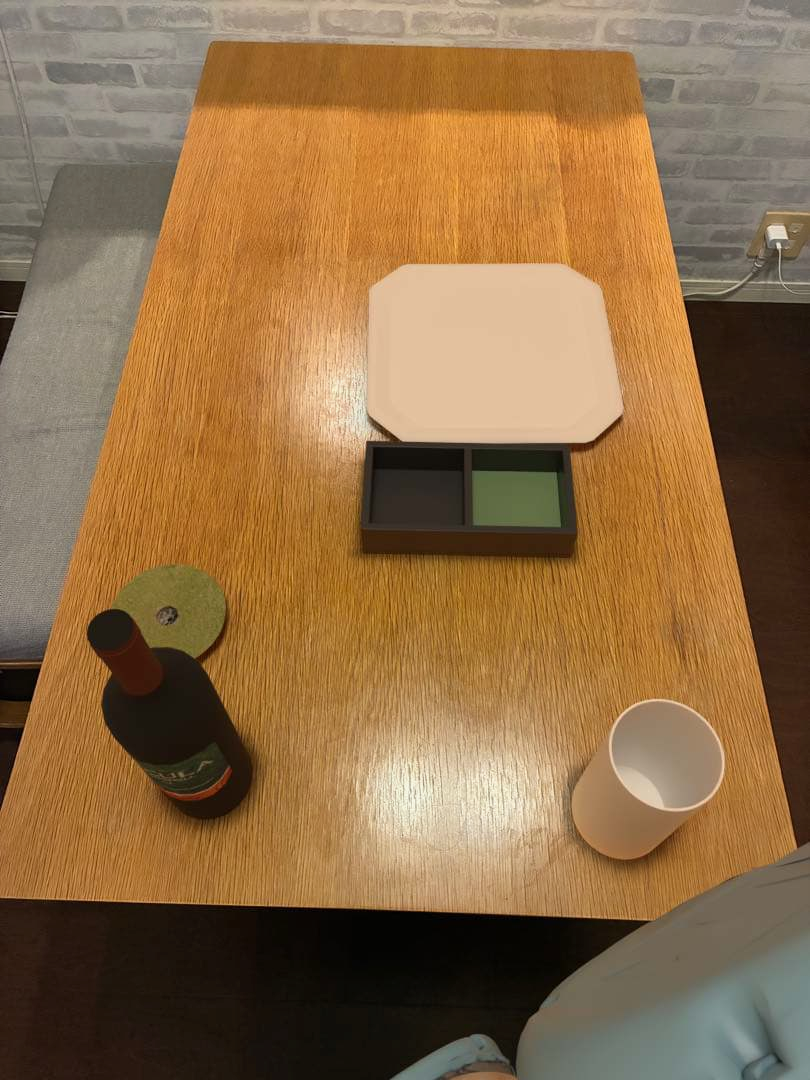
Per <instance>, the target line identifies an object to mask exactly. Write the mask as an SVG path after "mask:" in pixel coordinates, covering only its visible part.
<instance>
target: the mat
mask: <svg viewBox="0 0 810 1080" xmlns="http://www.w3.org/2000/svg"><path fill="white" fill-rule="evenodd" d="M110 609H119V610H123V611H125V612H126V613H128V614H129V615H130V617H132V618H133V619H134V621H135V622H136V624H137V625H138V627H139V629H140V630H141V634H142V636H143V637H144V639H145V641H146V642H147V644H148V645H149V647H150V648H153V647H171V648H174V649H178V650H182V651H184V652H186V653H187V654H189V655H190V656H192V657H193V658H195V659H196V658H198V657H199V656H201V655H202V654H204V653H205V652H206V651H207V650H208V649H209V648H210V647H211V646H212V645H213V644H214V642H215V641H216V640H217V638H218V637H219V635H220V634H221V632H222V630H223V626H224V623H225V619H226V615H227V602H226V597H225V594H224V591H223V590H222V587H221V585H220V584H219V583H218V581H216V579H215V578H214V577H212V575H210V574H209V573H207V572H206V571H205V570H202V569H201V568H198V567H195V566H193V565H188V564H183V563H180V564H179V563H177V564H176V563H171V564H164V565H159V566H156V567H151V568H149V569H148V570H145V571H142V572H141V573H139V574H138V575H136V576H135V577H133V578H131V580H129V581H128V582H127V583H126V584H125V585H124V586H123V587H122V588H121V589H120V591H119V592H118V593H117V595H116V597H115V598H114V600H113V602H112V604H111V606H110Z"/></svg>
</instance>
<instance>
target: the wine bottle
mask: <svg viewBox="0 0 810 1080" xmlns="http://www.w3.org/2000/svg"><path fill="white" fill-rule="evenodd" d="M86 638H87V641H88V643H89V646H90V647H91V649H92V650H93V652H94V653H95V655H96V656H97V657H98V658H99V659H101V661H102V662H103V664H105V666H106V668H107V669H108V670H109V671H110V672H111V674H110V675H109V677H108V680H107V681H106V684H105V685H104V688H103V692H102V697H101V704H100V706H101V712H102V717H103V721H104V724H105V726H106V727H107V729H108V731H109V732H110V735H111V736H112V737H113V738H114V740H115V741H116V742H117V743H118V744H119V745H120V746H121V748H123V750H124V751H125V752H126V753H127V754H128V755H129V756H130V757H131V759H132V760H133V761H134V762H135V763H136V764H137V766H139V768H141V770H142V771H143V772H144V773H145V775H147V776H148V778H149V779H150V780H151V781H152V782H153V783H154V784H155V785H156V786H157V788H158V789H159V790H160V791H161V792H162V793H163V794H164V796H166V798H167V799H168V800H169V801H170V802H171V803H172V804H173V806H174V807H175V808H176V809H177V810H179V811H180V812H182V813H183V814H184V815H186V816H187V817H190V818H193V819H197V820H201V821H202V820H215V819H218V818H220V817H221V818H222V817H224V816H226V815H228V814H229V813H231V812H232V811H233V810H235V809H237V808H238V807H239V806H240V804H241V803H242V802H243V801H244V799H245V798H246V797H247V795H248V794H249V791H250V789H251V788H250V787H251V785H252V783H253V771H254V768H253V764H252V760H251V756H250V754H249V752H248V750H247V748H246V746H245V744H244V743H243V740H242V738H241V737H240V735H239V733H238V731H237V729H236V727H235V725H234V723H233V721H232V719H231V716H230V715H229V713H228V711H227V708H226V707H225V705H224V703H223V701H222V699H221V697H220V696H219V694H218V691H217V689H216V688H215V685H214V684H213V682H212V679H211V677H210V676H209V673H208V672H207V671H206V670H205V668H204V667H203V665H202V664H201V663H200V661H199V660H197V659H196V658H193V657H192V656H190V655H189V654H187V653H186V652H184V651H182V650H178V649H174V648H171V647H153V648H150V647H149V645H148V644H147V642H146V641H145V639H144V637H143V636H142V634H141V630H140V629H139V627H138V625H137V624H136V622H135V621H134V619H133V618H132V617H130V615H129V614H128V613H126V612H125V611H123V610H119V609H111V608H109V609H106V610H102V611H100V612H99V613H98V614H96V615H95V616H94V617H93V618H92V619H91V620H90V621H89V623H88V626H87V629H86Z"/></svg>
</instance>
